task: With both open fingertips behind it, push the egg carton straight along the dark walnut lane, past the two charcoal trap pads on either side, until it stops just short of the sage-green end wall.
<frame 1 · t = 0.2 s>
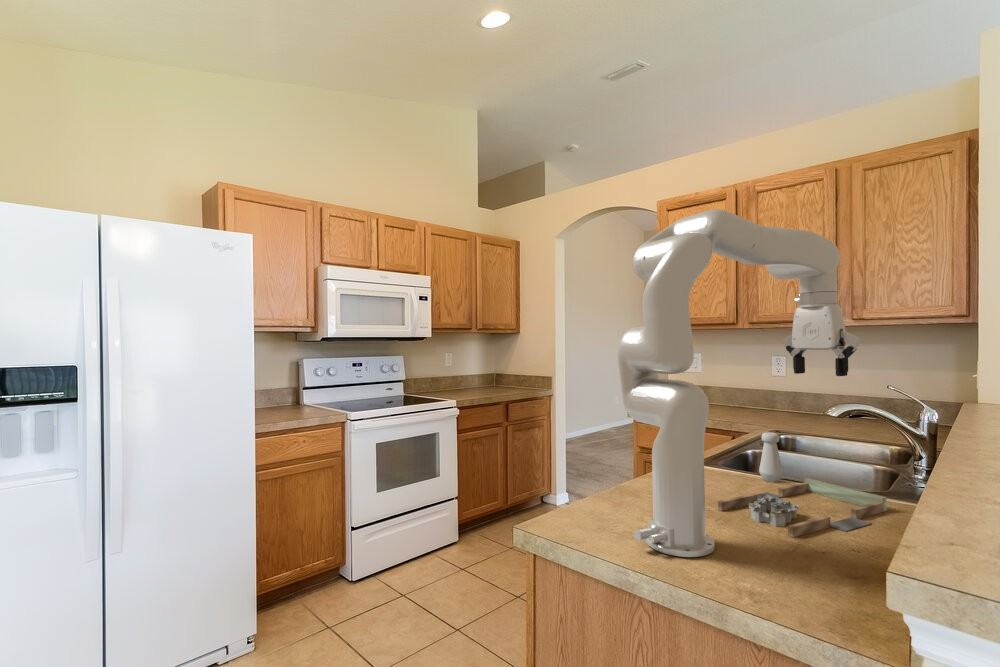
hand: (819, 374, 116), 31 cm above the counter, tool pointing down, fingers open, 9 cm apart
egg carton: (773, 519, 110), on the counter
salt shaker: (771, 480, 138), on the counter
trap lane: (800, 510, 114), on the counter
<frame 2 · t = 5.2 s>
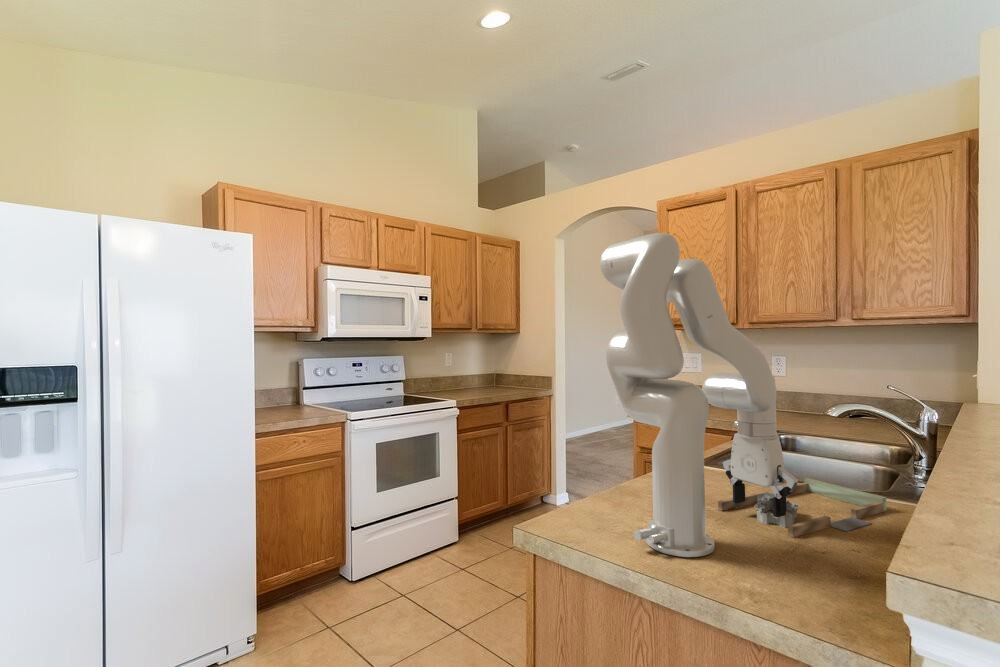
hand: (758, 508, 108), 3 cm above the counter, tool pointing down, fingers open, 9 cm apart
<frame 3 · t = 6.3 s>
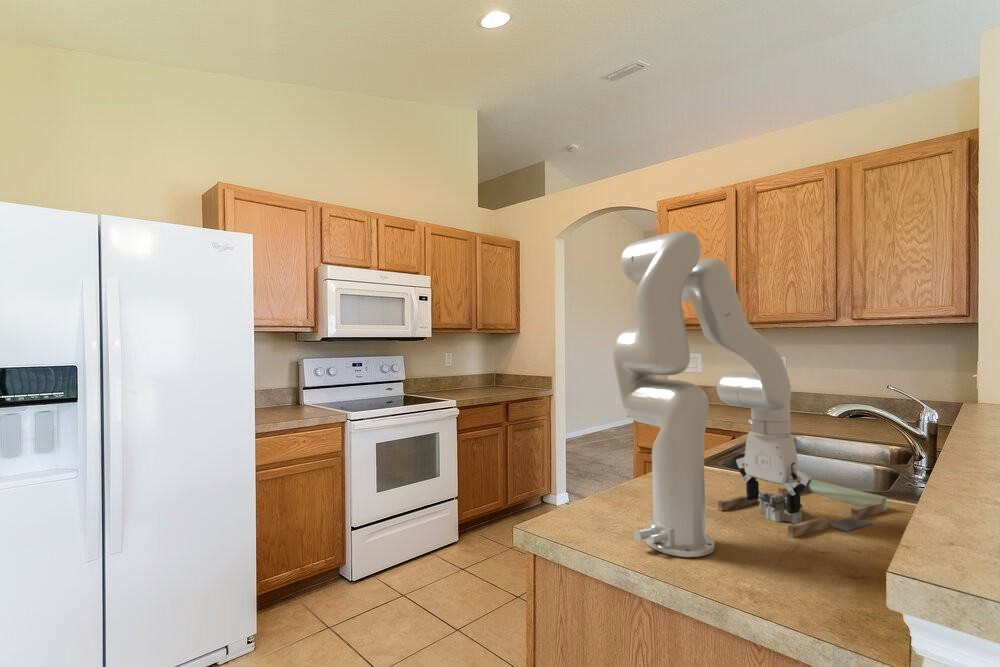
hand: (772, 505, 110), 3 cm above the counter, tool pointing down, fingers open, 9 cm apart
egg carton: (779, 515, 112), on the counter
everything else where it was.
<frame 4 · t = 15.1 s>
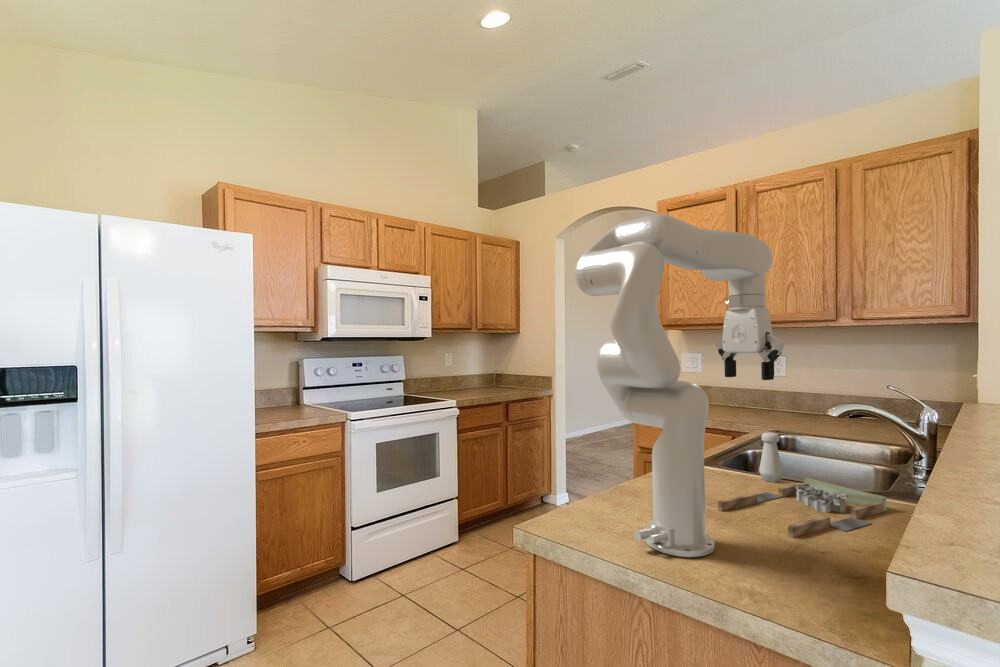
hand: (748, 378, 114), 30 cm above the counter, tool pointing down, fingers open, 9 cm apart
egg carton: (820, 507, 117), on the counter
everything else where it was.
at the end: egg carton inside the target area (2.4 cm from its centre), on the counter; egg carton tilted 0° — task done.
